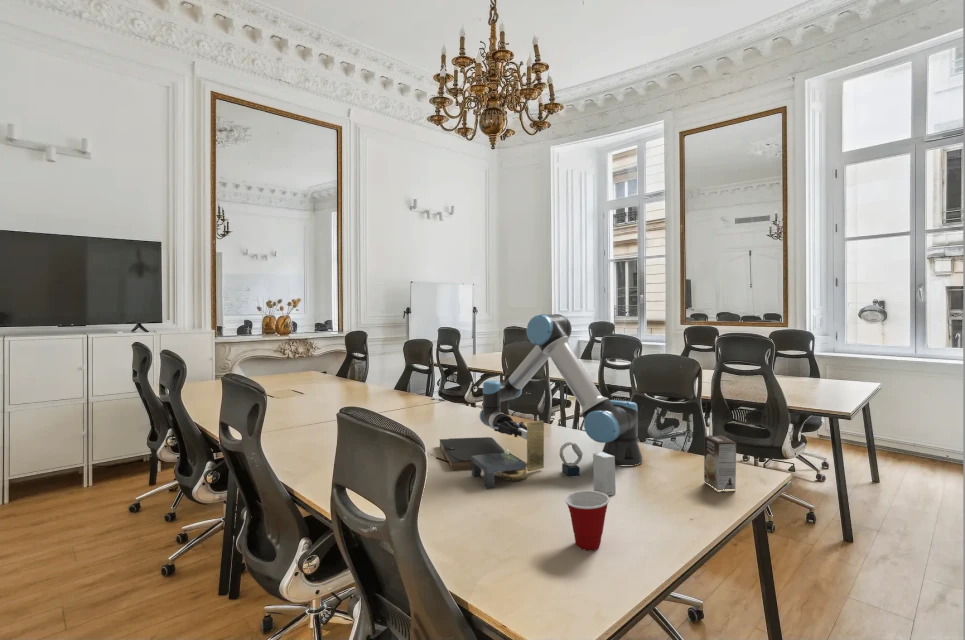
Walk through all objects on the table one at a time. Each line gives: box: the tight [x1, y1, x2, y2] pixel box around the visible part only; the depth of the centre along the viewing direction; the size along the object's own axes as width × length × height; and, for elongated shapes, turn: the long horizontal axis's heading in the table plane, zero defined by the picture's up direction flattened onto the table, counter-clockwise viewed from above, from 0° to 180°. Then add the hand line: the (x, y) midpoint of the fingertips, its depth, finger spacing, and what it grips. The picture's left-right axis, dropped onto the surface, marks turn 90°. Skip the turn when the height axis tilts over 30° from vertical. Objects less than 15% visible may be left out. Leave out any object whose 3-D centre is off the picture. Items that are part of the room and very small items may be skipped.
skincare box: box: [592, 451, 617, 497], centre depth 162 cm, size 6×4×12 cm
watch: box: [558, 441, 583, 478], centre depth 181 cm, size 6×8×11 cm
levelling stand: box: [471, 449, 527, 490], centre depth 175 cm, size 14×14×9 cm
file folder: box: [439, 436, 505, 471], centre depth 203 cm, size 33×4×24 cm
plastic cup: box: [564, 490, 611, 551], centre depth 126 cm, size 11×11×12 cm
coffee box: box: [703, 434, 737, 490], centre depth 167 cm, size 9×6×16 cm
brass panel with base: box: [499, 420, 545, 481], centre depth 181 cm, size 9×17×18 cm, turn 143°
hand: (527, 435), depth 188 cm, fingers closed
